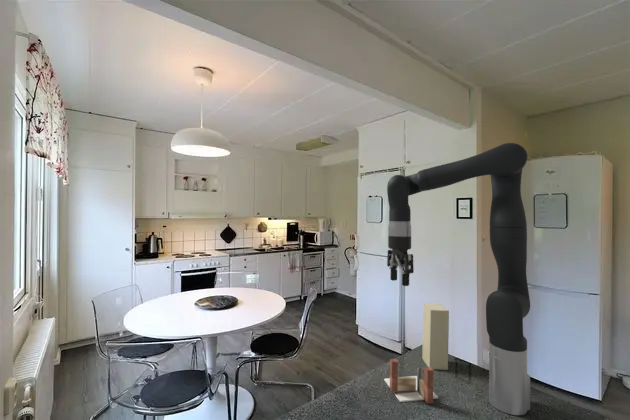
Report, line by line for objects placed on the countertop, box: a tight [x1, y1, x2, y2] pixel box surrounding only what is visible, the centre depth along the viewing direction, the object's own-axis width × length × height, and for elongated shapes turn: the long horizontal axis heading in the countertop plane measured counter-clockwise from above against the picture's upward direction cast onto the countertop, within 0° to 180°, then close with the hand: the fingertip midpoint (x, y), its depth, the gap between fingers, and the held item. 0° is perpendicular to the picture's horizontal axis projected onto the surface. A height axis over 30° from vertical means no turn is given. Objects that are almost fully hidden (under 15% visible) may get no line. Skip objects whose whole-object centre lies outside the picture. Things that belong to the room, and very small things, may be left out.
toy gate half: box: [389, 358, 416, 393], centre depth 92 cm, size 8×2×9 cm, turn 95°
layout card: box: [383, 375, 439, 403], centre depth 94 cm, size 12×12×1 cm
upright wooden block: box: [421, 303, 450, 371], centre depth 110 cm, size 8×7×21 cm
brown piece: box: [416, 366, 434, 405], centre depth 90 cm, size 2×7×10 cm, turn 10°
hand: (399, 282), depth 101 cm, fingers open, 8 cm apart
